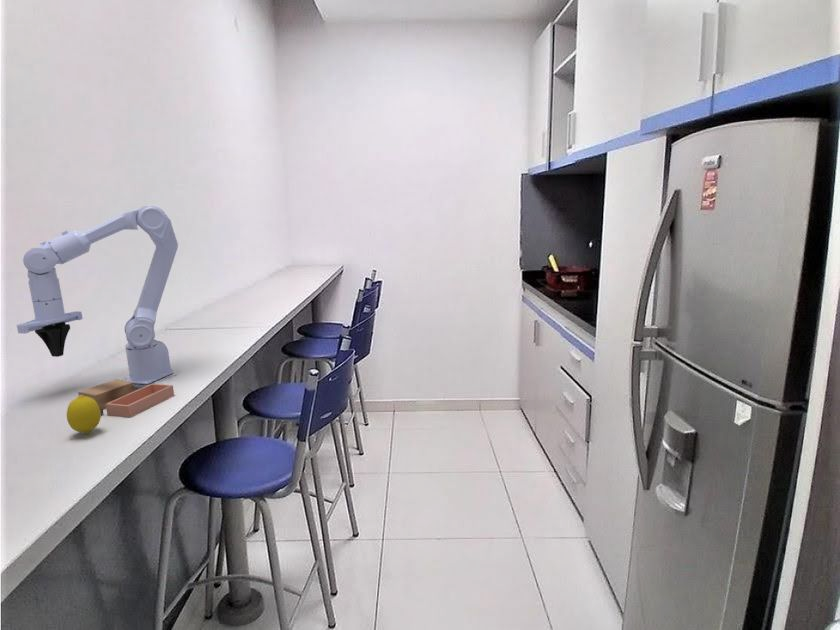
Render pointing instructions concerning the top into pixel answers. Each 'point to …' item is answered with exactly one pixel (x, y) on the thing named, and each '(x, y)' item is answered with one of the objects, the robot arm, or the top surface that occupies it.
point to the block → (108, 391)
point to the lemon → (83, 414)
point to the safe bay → (134, 389)
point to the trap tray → (139, 400)
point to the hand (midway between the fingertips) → (57, 355)
